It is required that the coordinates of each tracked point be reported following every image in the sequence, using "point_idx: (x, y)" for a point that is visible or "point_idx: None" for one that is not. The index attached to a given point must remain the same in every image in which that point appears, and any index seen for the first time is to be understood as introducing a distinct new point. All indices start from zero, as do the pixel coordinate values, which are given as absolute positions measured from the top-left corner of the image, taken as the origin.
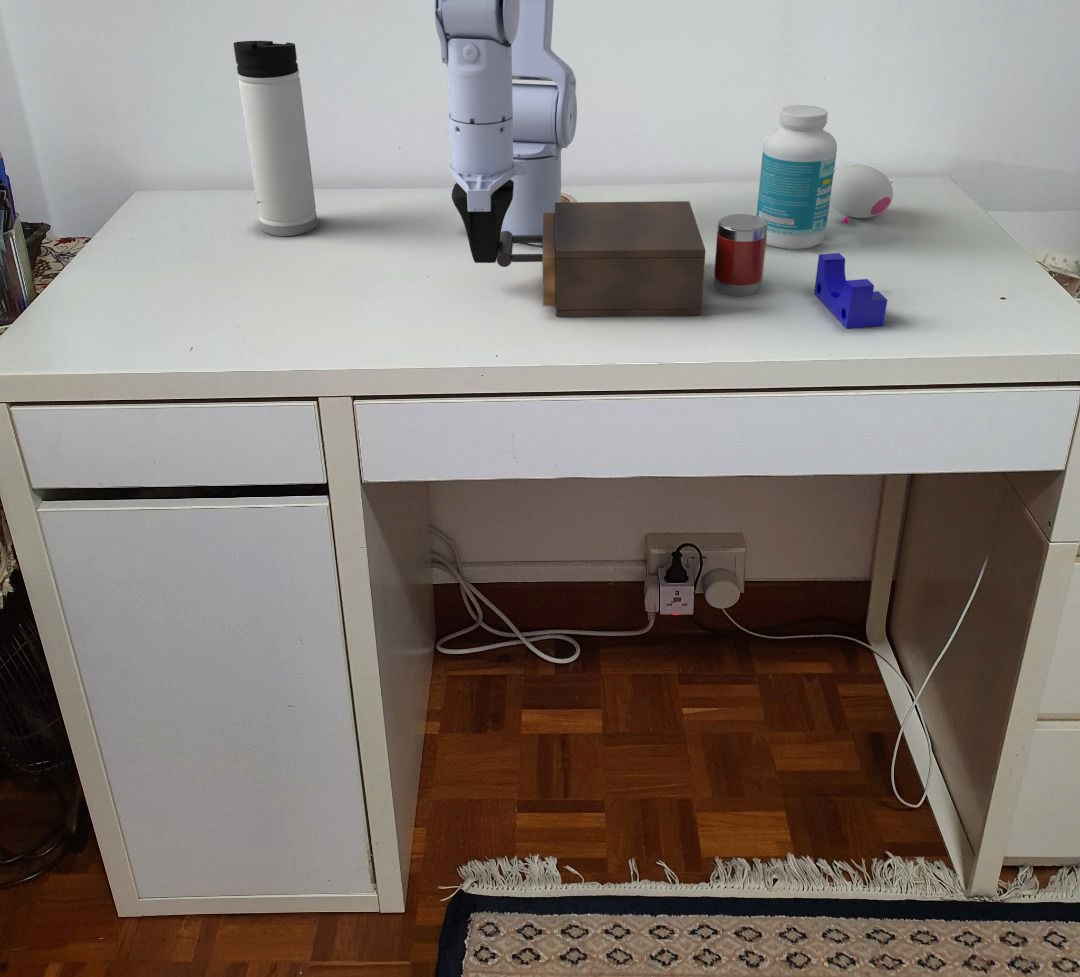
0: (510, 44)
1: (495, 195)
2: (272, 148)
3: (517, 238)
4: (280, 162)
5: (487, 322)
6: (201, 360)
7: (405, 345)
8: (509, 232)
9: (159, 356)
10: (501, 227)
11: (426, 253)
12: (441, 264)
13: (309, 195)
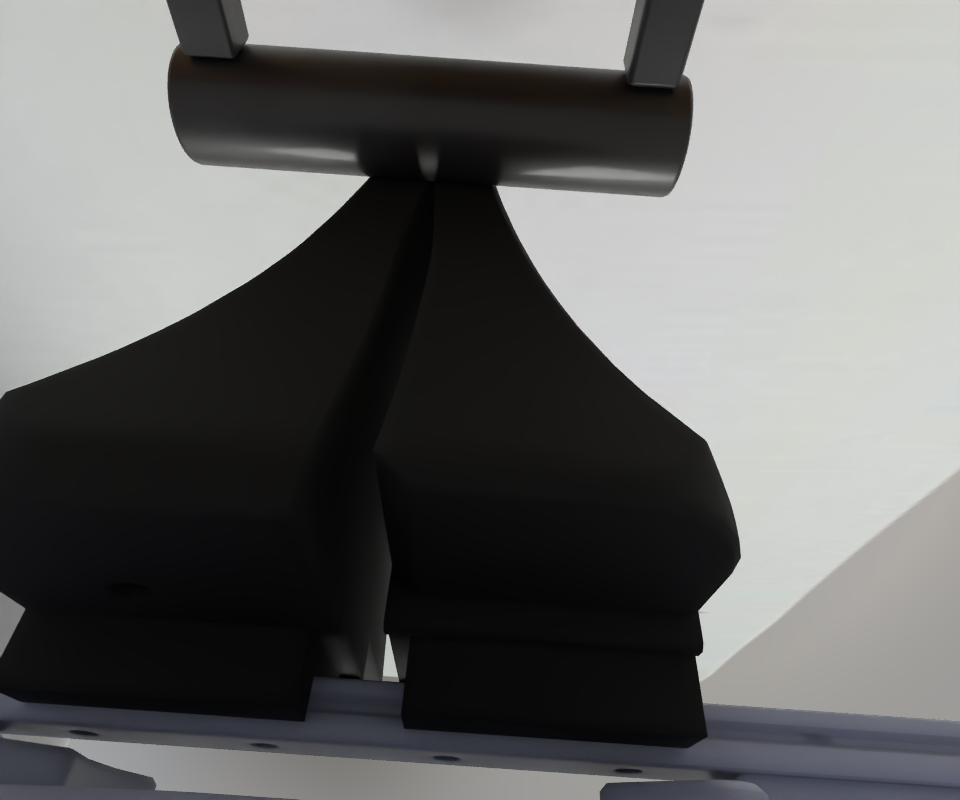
0: None
1: (565, 601)
2: None
3: (231, 14)
4: (47, 740)
5: (870, 113)
6: (753, 605)
7: (903, 376)
8: (187, 100)
9: (709, 629)
10: (539, 281)
11: (97, 322)
12: (189, 280)
13: (21, 610)
